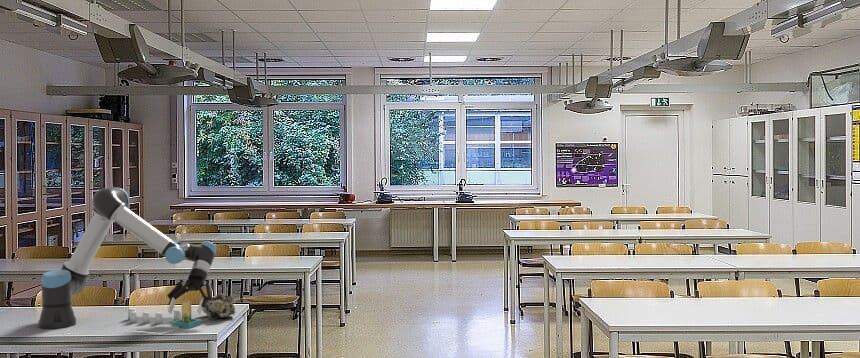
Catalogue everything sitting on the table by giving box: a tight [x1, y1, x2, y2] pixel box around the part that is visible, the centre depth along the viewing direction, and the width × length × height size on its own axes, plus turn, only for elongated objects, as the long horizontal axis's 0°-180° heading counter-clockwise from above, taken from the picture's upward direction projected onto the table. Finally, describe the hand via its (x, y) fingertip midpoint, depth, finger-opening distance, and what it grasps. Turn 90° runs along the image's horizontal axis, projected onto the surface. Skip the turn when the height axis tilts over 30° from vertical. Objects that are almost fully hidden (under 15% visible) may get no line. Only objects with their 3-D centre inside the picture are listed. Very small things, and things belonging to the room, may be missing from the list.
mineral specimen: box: [202, 293, 236, 320], centre depth 379 cm, size 16×18×10 cm
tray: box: [171, 318, 203, 329], centre depth 362 cm, size 9×9×2 cm
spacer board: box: [118, 308, 182, 326], centre depth 369 cm, size 25×14×5 cm, turn 79°
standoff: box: [181, 299, 192, 323], centre depth 362 cm, size 4×4×10 cm
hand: (183, 312), depth 359 cm, fingers open, 13 cm apart
